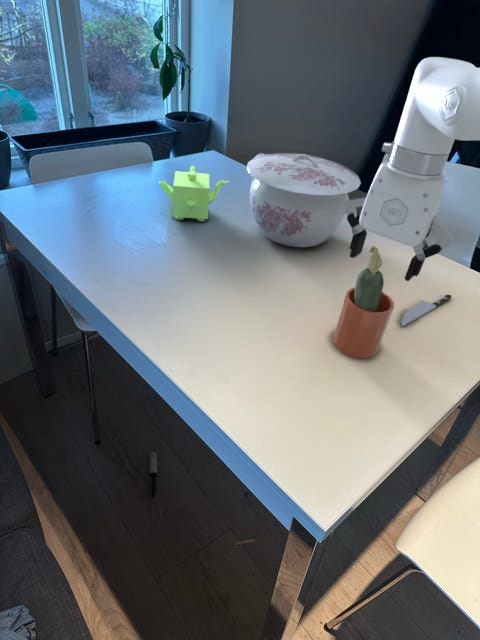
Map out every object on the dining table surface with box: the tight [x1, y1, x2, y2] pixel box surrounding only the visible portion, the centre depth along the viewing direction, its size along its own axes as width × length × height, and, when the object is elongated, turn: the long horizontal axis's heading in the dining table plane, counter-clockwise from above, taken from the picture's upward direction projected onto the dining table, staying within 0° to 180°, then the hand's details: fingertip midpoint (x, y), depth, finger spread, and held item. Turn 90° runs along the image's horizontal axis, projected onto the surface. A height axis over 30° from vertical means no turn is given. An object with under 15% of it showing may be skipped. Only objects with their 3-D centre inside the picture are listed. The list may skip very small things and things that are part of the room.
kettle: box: [158, 164, 230, 222], centre depth 117 cm, size 15×14×11 cm
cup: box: [332, 286, 395, 359], centre depth 80 cm, size 8×8×10 cm
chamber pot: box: [246, 152, 362, 248], centre depth 111 cm, size 28×28×21 cm
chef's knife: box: [400, 294, 453, 327], centre depth 94 cm, size 19×1×3 cm
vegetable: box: [354, 245, 385, 312], centre depth 76 cm, size 4×4×20 cm
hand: (381, 265), depth 73 cm, fingers open, 9 cm apart
